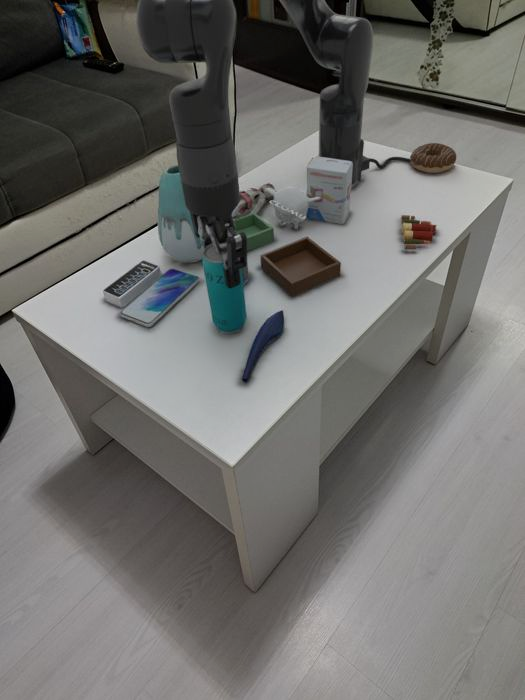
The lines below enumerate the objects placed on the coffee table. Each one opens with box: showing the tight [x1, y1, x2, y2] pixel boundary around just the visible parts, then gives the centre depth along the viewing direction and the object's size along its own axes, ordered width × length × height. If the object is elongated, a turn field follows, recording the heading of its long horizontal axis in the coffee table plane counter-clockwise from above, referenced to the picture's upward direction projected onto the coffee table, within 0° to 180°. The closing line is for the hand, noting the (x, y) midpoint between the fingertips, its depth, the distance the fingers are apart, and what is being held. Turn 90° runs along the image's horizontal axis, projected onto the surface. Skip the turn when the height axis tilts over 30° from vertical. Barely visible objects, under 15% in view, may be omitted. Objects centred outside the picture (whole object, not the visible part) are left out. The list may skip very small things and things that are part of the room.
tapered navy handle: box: [241, 310, 285, 383], centre depth 79 cm, size 16×4×2 cm, turn 157°
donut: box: [409, 142, 457, 174], centre depth 119 cm, size 11×11×4 cm
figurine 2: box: [266, 185, 320, 230], centre depth 103 cm, size 12×8×10 cm
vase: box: [157, 163, 204, 263], centre depth 94 cm, size 12×12×18 cm
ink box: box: [305, 155, 353, 225], centre depth 103 cm, size 9×5×12 cm, turn 68°
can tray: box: [260, 236, 342, 298], centre depth 93 cm, size 11×11×3 cm
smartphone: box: [119, 268, 200, 328], centre depth 90 cm, size 7×1×15 cm
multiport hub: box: [102, 260, 163, 309], centre depth 92 cm, size 4×11×2 cm, turn 147°
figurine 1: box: [232, 182, 276, 218], centre depth 107 cm, size 6×6×20 cm
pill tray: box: [234, 213, 275, 252], centre depth 102 cm, size 8×8×3 cm
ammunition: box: [400, 214, 437, 250], centre depth 99 cm, size 12×2×6 cm
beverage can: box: [201, 242, 247, 335], centre depth 79 cm, size 6×6×15 cm
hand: (223, 274), depth 77 cm, fingers closed on beverage can, 5 cm apart
